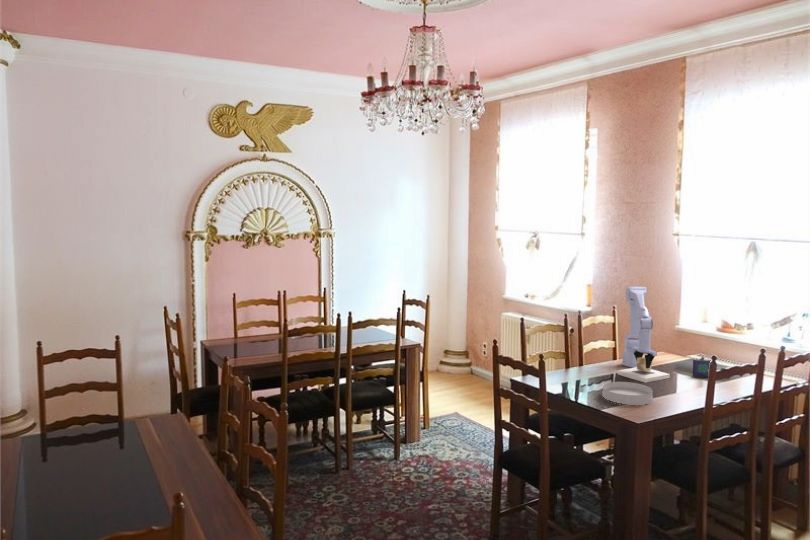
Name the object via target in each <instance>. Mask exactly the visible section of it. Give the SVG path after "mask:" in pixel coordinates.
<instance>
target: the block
mask: <svg viewBox="0 0 810 540" xmlns="http://www.w3.org/2000/svg"><path fill="white" fill-rule="evenodd" d="M652 363H653V362H652ZM652 363H651V365H650V368H646V360H645V356H643V357H640V358H637V369H638V370H641V371H651V369H652V365H653V364H652Z"/></svg>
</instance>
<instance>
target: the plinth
mask: <svg viewBox="0 0 810 540" xmlns="http://www.w3.org/2000/svg"><path fill="white" fill-rule="evenodd" d="M617 375H618V376H620V377H621V376H622V377H625V378H629V379H631V380H635V381H639V382H642V383H645V384H646V383H652V382H654V381H655V382H656V381H660V380H661V381H662V380H666V379H670V378H671V375H670V373H667V372H662V371H659V370H657V369H653V368H651V371H641V370H638V369H637V367H636V368H632V367H630V368H625V369H619V370H617Z"/></svg>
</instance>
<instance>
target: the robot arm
mask: <svg viewBox="0 0 810 540" xmlns="http://www.w3.org/2000/svg"><path fill="white" fill-rule="evenodd" d="M647 290H648V289H647V287H646V286H629V285H628V286H627V287H626V291H625V299H626V302H627V303H629V322H630V323H629V331H630V332H628V333H627V334H625V336H624V350H623V352H622V359H621V360H622V361H621V362H622V363H620V365H622V366H625V367H630V368H636V367H637V358H640V357H645V360H646V368H650V365H651V363H653V361H654V360H655V359H654V358H655V357H657V356H658V352H657V351H655V350H652V349H651V338H652V329H653V328H654V321H653V318H652V317H651V316H650V313H649V310H648V308H647V306H645V305H646V304H645V299H646V297H647V294H648V291H647ZM651 366H652V365H651Z"/></svg>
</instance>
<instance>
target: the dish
mask: <svg viewBox="0 0 810 540" xmlns="http://www.w3.org/2000/svg"><path fill="white" fill-rule="evenodd" d="M653 392H654V391H653V389H652V388H651V387H650V386H648V385H645V384H643V383H637V382H629V381H613V382H606V383H603V385H602V391H601V397H602V396H603V397H604V398H605V399H607V400H610V401H613V402H617V403H622V404H629V405H641V406H646V405H645V404H648V405H650V404H652V403H653V402H654V400H653V399H654V397H653ZM603 397H602V398H603ZM605 399H604V400H605ZM607 400H606V401H607ZM652 401H653V402H652ZM651 402H652V403H651ZM649 403H650V404H649ZM629 405H628V406H629Z"/></svg>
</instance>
